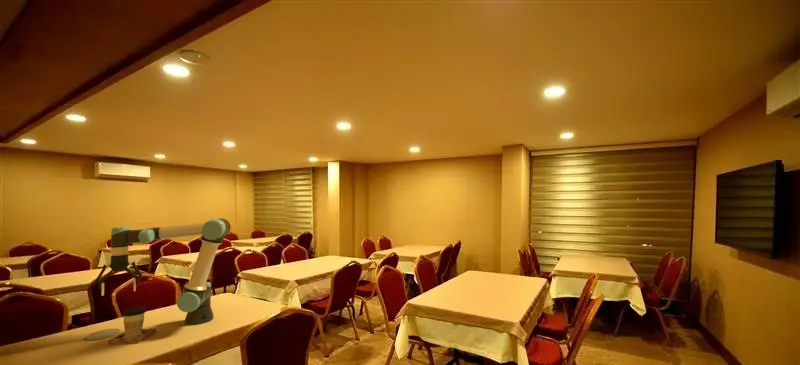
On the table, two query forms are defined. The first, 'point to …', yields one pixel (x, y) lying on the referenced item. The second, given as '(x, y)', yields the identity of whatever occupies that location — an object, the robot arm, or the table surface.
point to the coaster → (102, 334)
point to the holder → (119, 337)
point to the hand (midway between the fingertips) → (119, 293)
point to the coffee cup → (133, 322)
